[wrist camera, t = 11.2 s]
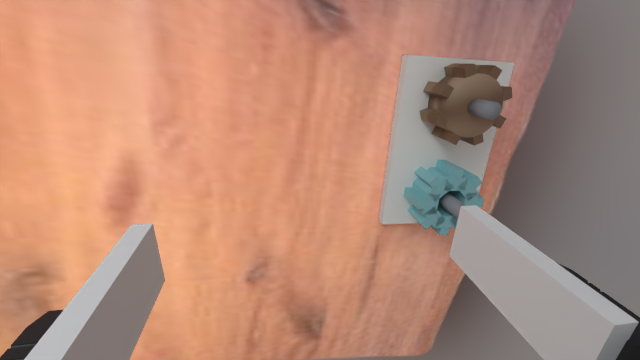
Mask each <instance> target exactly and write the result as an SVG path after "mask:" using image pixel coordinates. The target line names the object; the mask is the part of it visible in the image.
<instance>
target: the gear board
mask: <svg viewBox="0 0 640 360" xmlns="http://www.w3.org/2000/svg"><path fill="white" fill-rule="evenodd" d="M453 63H459V64H475V65H495V66H497V67H498V68H500V69H501V70H502V72H501V74H500V75H499V77H498V79H497V81H498V82H499V84H500V86H505V87H508V86H509V82H510V78H511V75H512V71H513V67H514V64H515V63H512V62H498V61H485V60H471V59H458V58H444V57H431V56H417V55H402V62H401V69H400V76H399V82H398V89H397V96H396V103H395V109H394V116H393V123H392V130H391V137H390V143H389V150H388V157H387V164H386V170H385V177H384V184H383V191H382V198H381V204H380V211H379V218H378V219H379V221H380V222H381V224H406V223H419V222H418V221H417V220H416V219H415V218H414V217H413V216H412V215H411V214H410V213H409V211H408V210H407V209H409V208H410V207H411V206H412V205H413V204H412V203H411V202H410V201H409V200H408V199H406V198H405V197H404V196H403V195H404V190H405V187H412V185H413V181H414V180H416V179H417V178H418V177H417V175H416V174H415V173H414V172H415V171H416V170H417V169H418V168H419V167H423V168H424V169H426V170H427V169H429V168H430V167H436V164H437V160H447V161H449V162H451V163H453V164H454V165H456V166H458V167H461V168H463V169H465V170H467V171H469V172H470V173H472V174H474V175H476V176H478V177H479V179H480V180H481V182H482V180H483V176H484V173H485V169H486V166H487V162H488V158H489V155H490V151H491V147H492V144H493V140H494V136H495V133H496V129H497V127H494V126H491V127H490V128H489V129H488V130H487V131H486V132H484V133H483V140H484V142H482V143H480V144H477V145H475V146H474V145H472V144H469V143H467V142H464V141H462V140H459V141H458V143H457V145H454V144H452V143H450V142H448V141H445V140H443V139H441V138H439V137H437V136H435V135H433V134H431V133H432V131H433V130H434V128H435V125H433V124H430V123H428V122H425V121H422V120H421V116H420V111H421V110H423V109H426V108H428V101H429V97H430V94H428V93H426V92H424V91H423V90H424V88H425V86H426V85H427V83H428V81H430V82H439V81H440V80H441V79H443V78H444V77H446V75H445V69H444V67H446V66H448V65H451V64H453ZM503 104H504V101H503ZM502 107H503V106H502ZM501 111H502V110H501V105H500V104H499V103H498V102H493V101H488V100H482V99H474V100H472V101H471V102H470V103H469V105H468V112H469V114H471V115H474V116H478V117H482V118H485V119H489V120H493V119H496V118H497V117H498V116H499V115H501ZM480 187H481V185H480V186H478V187H477V188H476V190H477V191H478V192H479V191H480ZM478 195H479V194H478ZM439 204H441V205H442V206H443V207H444V208H446V209H447V210H448V211H449V212H450V213H452V214H453V215H454V216H455V217H457V218H458V217H459V212H460V208H461V206H466V205H465V204H463V203H462V202H461V201H459V200H458V199H456V198H455V197H454V196H452V195H451V194H449V193H448V192H447V193H446V194H444V195H443V196H442V197H441V198H440V199H439Z"/></svg>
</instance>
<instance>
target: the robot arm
mask: <svg viewBox="0 0 640 360" xmlns="http://www.w3.org/2000/svg"><path fill="white" fill-rule="evenodd" d="M449 256H450V257H451V258H452V259H453V260H454V261H455V263H456V264H457V265H458V266H459V267H460V268H461V269H462V270H463V271H464V272H465V273H466V275H467V276H468V277H469V278H470V279H471V280H472V281H473V282H474V283H475V284H476V286H477V287H478V288H479V289H480V290H481V291H482V292H483V293H484V294H485V295H486V297H487V298H488V299H489V300H490V301H491V302H492V303H493V304H494V305H495V306H496V307H497V308H498V310H499V311H500V312H501V313H502V314H503V315H504V316H505V317H506V319H507V320H508V321H509V322H510V323H511V324H512V325H513V326H514V327H515V328H516V329H517V331H518V332H519V333H520V334H521V335H522V336H523V337H524V338H525V339H526V340H527V341H528V343H529V344H530V345H531V346H532V347H533V348H534V349H535V350H536V351H537V352H538V354H539V355H540V356H541V357H542V358H543V359H544V360H640V317H638V316H637V315H635V314H634V313H633V312H631V311H630V310H628V309H627V308H625V307H624V306H623V305H621V304H619V303H618V302H617V301H615V300H614V299H613V298H611V297H610V296H608V295H607V294H605V293H604V292H601V291H600V289H598V288H597V287H596V286H594V285H593V284H591V283H588V281H587V280H586V279H584V278H583V277H581V276H580V275H578V274H577V273H575V272H574V271H573V270H571V269H569V268H567V267H564V266H563V265H561V264H558V263H556V262H555V261H553V260H552V259H550V258H549V257H548V256H546V255H545V254H543V253H542V252H541V251H539V250H538V249H536V248H535V247H534V246H532V245H531V244H529V243H528V242H527V241H525V240H524V239H522V238H521V237H520V236H518V235H517V234H515V233H514V232H513V231H511V230H510V229H508V228H507V227H506V226H504V225H503V224H502V223H500V222H499V221H497V220H496V219H495V218H493V217H492V216H490V215H489V214H488V213H486V212H485V211H483V210H482V209H481V208H479V207H478V206H476V205H471V206H461V208H460V212H459V217H458V221H457V225H456V230H455V234H454V238H453V242H452V247H451V251H450V255H449ZM164 281H165V278H164V273H163V268H162V264H161V259H160V254H159V250H158V245H157V240H156V236H155V231H154V226H153V224H137V225H131V226H130V227H129V228H128V230H127V231H126V232H125V233H124V235H123V236H122V237H121V239H120V240H119V241H118V242H117V244H116V245H115V246H114V247H113V249H112V250H111V251H110V252H109V254H108V255H107V256H106V257H105V259H104V260H103V261H102V262H101V264H100V265H99V266H98V267H97V269H96V270H95V271H94V272H93V274H92V275H91V276H90V277H89V279H88V280H87V281H86V282H85V284H84V285H83V286H82V288H81V289H80V290H79V291H78V293H77V294H76V295H75V296H74V298H73V299H72V300H71V301H70V303H69V304H68V305H67V306H66V308H65V309H64V310H56V311H48V312H47V313H45V314H44V315H43V316H41V317H40V318H39V319H37V320H36V321H35V322H33V323H32V324H31V325H29V326H28V327H27V328H26V329H25V330H24V331H23V332H22V333H21V335H20V336H19V337H18V338H17V339H16V340H15V341H14V342H13V344H12V345H11V348H10V349H7V350H6V352H5V353H4V354H3V355H2V356H1V357H0V360H129V359H130V357H131V355H132V352H133V350H134V348H135V346H136V344H137V341H138V339H139V337H140V335H141V332H142V330H143V328H144V326H145V324H146V321H147V319H148V317H149V315H150V312H151V310H152V308H153V306H154V304H155V301H156V299H157V297H158V295H159V292H160V290H161V288H162V286H163V284H164Z"/></svg>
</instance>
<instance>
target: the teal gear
mask: <svg viewBox="0 0 640 360" xmlns="http://www.w3.org/2000/svg"><path fill="white" fill-rule="evenodd" d="M414 173H415V174H416V175H417V177H418V178H417V179H416V180H414V181H413V185H412V187H405V190H404V195H403V196H404V197H405V198H406V199H408V200H409V201H410V202H411V203H412V204H413V205H412V206H411V207H410V208H409V209H407V210H408V211H409V213H410V214H411V215H412V216H413V217H414V218H415V219H416V220H417V221H418V222H419V223H420V224H421V225H422V226H423V227H424V229H425V230H426V229H427V228H428V227H429V226H431V227H432V228H433V229H434V230H435V231H436V232H437V233H438V234H439V235H448V232H449V228H456V225H457V221H458V218H457V217H455V216H454V215H453V214H452V213H450V212H449V211H448V210H447V209H446V208H444V207H443V206H442V205H441V204H439V199H440V198H441V197H442V196H443V195H444V194H446V193H447V192H448V193H449V194H451V195H452V196H454V197H455V198H456V199H458V200H459V201H461V202H462V203H463V204H465V205H466V206H471V205H476V206H478V207H482V206H483V202H484V198H482V197H481V196H479V195H478V194H479V192H478V191H477V190H476V188H477V187H478V186H480V185H481V184H482V182H481V180H480V179H479V177H478V176H476V175H474V174H472V173H470V172H469V171H467V170H465V169H463V168H461V167H458V166H456V165H454V164H453V163H451V162H449V161H447V160H437V164H436V167H430V168H429V169H427V170H426V169H424V168H423V167H419V168H418V169H417V170H416V171H415V172H414Z"/></svg>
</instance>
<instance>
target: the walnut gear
mask: <svg viewBox="0 0 640 360" xmlns="http://www.w3.org/2000/svg"><path fill="white" fill-rule="evenodd" d="M444 69H445V75H446V77H444V78H443V79H441V80H440V81H439V82H430V81H428V83H427V85H426V86H425V88H424V90H423V91H424V92H426V93H428V94H430V97H429V101H428V108H426V109H423V110H421V111H420V116H421V120H422V121H425V122H428V123H430V124H433V125H435V128H434V130H433V131H432V133H431V134H433V135H435V136H437V137H439V138H441V139H443V140H445V141H448V142H450V143H452V144H454V145H457V143H458V141H459V140H462V141H464V142H467V143H469V144H472V145H474V146H475V145H477V144H480V143H482V142H484V140H483V133H484V132H486V131H487V130H488V129H489V128H490V127H491V126H494V127H498V128H501V126H502V124H503V123H504V121H505V120H506V118H504V117H502V116H501V115H499V116H498V117H497V118H496V119H493V120H489V119H485V118H482V117H478V116H474V115H471V114H469V112H468V105H469V103H470V102H471V101H472V100H474V99H482V100H488V101H493V102H498V103H499V104H500V105H501V110H502V106H503V101H505V100H507V99H510V98H512V87H505V86H500V84H499V82H498V81H497V79H498V77H499V75H500V74H501V72H502V70H501V69H500V68H498V67H497V66H495V65H475V64H459V63H453V64H451V65H448V66H446V67H444Z"/></svg>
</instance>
